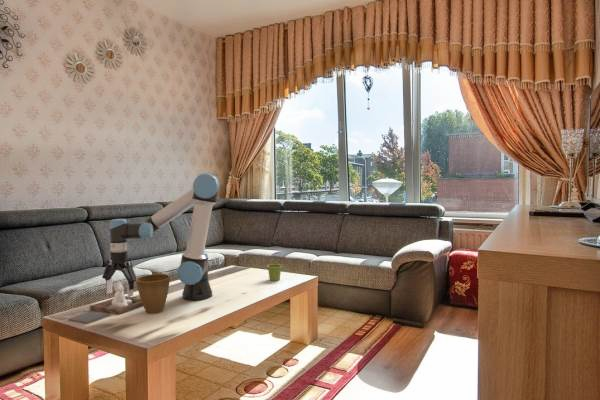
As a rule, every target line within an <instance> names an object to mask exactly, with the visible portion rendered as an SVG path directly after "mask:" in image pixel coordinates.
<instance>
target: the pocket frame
mask: <svg viewBox="0 0 600 400" xmlns="http://www.w3.org/2000/svg"><path fill="white" fill-rule="evenodd" d="M113 299H114V297H113V298H111V299H108V300H105V301H101V302H98V303H95V304H91V305H89V310H90V311H96V312H102V313H108V314H111V315H112V314H114V315H117V316H118V315H119V316H121V315H123V314H126V313H128V312H131V311H133V310H136V309H139V308H142V307H144V306H143V304H142V301H141V298H140V297H135V296H130V297H128V295H125V299H126V300H127V299H129V300H132V304H129V305H128V306H125V307H122V308H115V307H113V306H112V303H111V302H112V300H113Z"/></svg>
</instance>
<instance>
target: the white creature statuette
mask: <svg viewBox="0 0 600 400" xmlns="http://www.w3.org/2000/svg"><path fill="white" fill-rule="evenodd" d="M113 288H114V291H116V292H115V293H114V297H113V298H114V299H113V298H112V299H113V300H112V302H111V303H112V305H111V307H115V308H122V307H125V306H128V305H130V304H133V303H132V300H129V299H127V300H126V299H125V296H126V295H125V292H124V290H125V289H124V285H123V284H122V281H121V282H119V281H118V282H117V283H115V284H114V285H113Z"/></svg>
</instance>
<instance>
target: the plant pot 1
mask: <svg viewBox="0 0 600 400" xmlns="http://www.w3.org/2000/svg"><path fill="white" fill-rule="evenodd" d="M136 278H137V279H136V281H135V282H136V286H137V287H136V288H137V291H138V294H139V298H141V301H142V304H143V306H142V307H143V308H144V310H145V312H146V314H150V315H153V314H154V315H155V314H159V313H162V312H163V311H164V309H165V307H166V306H165V305H166V302H167V298H168V293H169V288H170V278H171V276H170V275H169V274H166V273H156V274H155V273H154V274H147V275H146V274H145V275H143V276H139V277H136Z"/></svg>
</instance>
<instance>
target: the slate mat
mask: <svg viewBox="0 0 600 400" xmlns="http://www.w3.org/2000/svg"><path fill="white" fill-rule="evenodd" d="M111 315H112V313H106V312H99V311H93V310H90V311H87V312H84V313H82V314H79V315H76V316H73V317H69V318H68V319H67V320H68V321H73V322H76V321H77V323H82V322H84V323H83V324H90V323H93V322H95V321H99V320H101V319H104V318H107V317H109V316H111Z"/></svg>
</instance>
